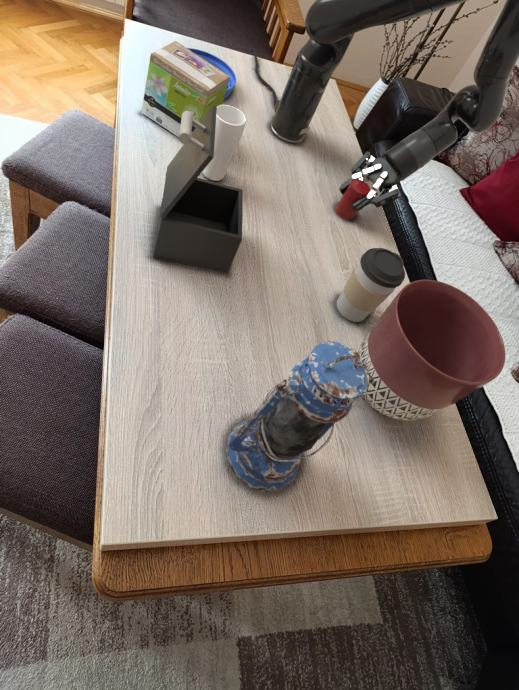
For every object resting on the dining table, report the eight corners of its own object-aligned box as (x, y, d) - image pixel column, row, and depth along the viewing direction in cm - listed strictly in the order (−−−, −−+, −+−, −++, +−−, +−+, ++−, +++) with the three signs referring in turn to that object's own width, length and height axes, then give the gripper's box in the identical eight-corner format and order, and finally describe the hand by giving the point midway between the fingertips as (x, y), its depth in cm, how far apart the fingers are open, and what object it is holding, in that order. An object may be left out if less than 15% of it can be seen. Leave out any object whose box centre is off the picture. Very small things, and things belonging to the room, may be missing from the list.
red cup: (334, 202, 122) (349, 176, 116) (353, 207, 124) (368, 182, 117) (336, 216, 119) (352, 190, 113) (355, 221, 121) (371, 196, 114)
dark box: (229, 225, 106) (242, 189, 98) (227, 273, 98) (242, 238, 91) (160, 208, 102) (168, 169, 94) (152, 257, 94) (161, 219, 87)
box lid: (217, 107, 84) (191, 89, 82) (213, 157, 77) (185, 139, 74) (170, 168, 94) (146, 154, 92) (163, 218, 87) (137, 204, 84)
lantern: (296, 413, 86) (386, 311, 62) (317, 483, 80) (425, 400, 56) (210, 422, 80) (274, 312, 56) (226, 498, 74) (304, 412, 50)
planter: (440, 438, 93) (525, 384, 76) (349, 441, 86) (419, 382, 69) (408, 349, 103) (477, 284, 86) (324, 345, 96) (380, 274, 79)
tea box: (139, 114, 116) (148, 51, 105) (164, 99, 122) (175, 38, 111) (193, 149, 116) (209, 89, 104) (215, 132, 122) (232, 74, 110)
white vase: (192, 173, 111) (209, 113, 99) (205, 159, 115) (222, 99, 103) (219, 188, 111) (239, 130, 99) (231, 173, 115) (251, 115, 104)
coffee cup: (345, 330, 100) (384, 283, 89) (323, 295, 104) (358, 245, 92) (378, 321, 105) (419, 275, 93) (356, 287, 108) (393, 239, 96)
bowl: (169, 95, 124) (171, 81, 121) (162, 54, 133) (164, 41, 130) (238, 108, 131) (242, 96, 128) (227, 69, 140) (230, 56, 137)
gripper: (390, 124, 113) (327, 170, 117) (427, 167, 108) (360, 215, 111) (394, 143, 120) (334, 186, 123) (429, 185, 115) (365, 229, 118)
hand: (347, 199), depth 117 cm, fingers closed on red cup, 5 cm apart
